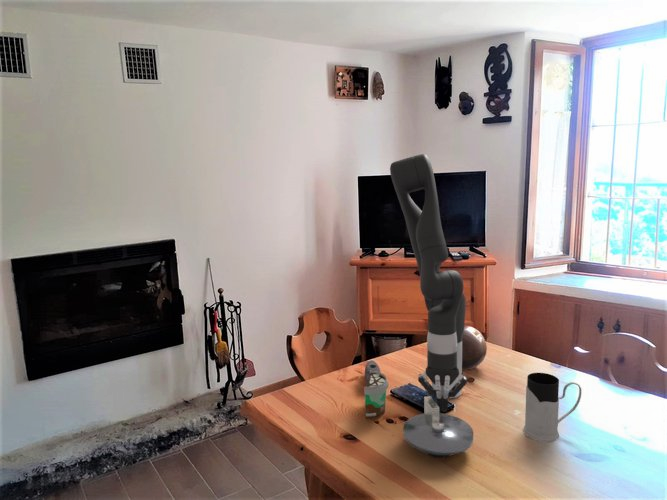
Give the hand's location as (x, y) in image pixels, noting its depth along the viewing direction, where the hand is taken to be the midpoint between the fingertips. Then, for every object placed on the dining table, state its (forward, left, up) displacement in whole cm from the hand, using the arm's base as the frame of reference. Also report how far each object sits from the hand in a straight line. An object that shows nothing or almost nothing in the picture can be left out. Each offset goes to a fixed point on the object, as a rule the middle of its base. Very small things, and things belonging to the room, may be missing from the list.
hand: (442, 410), depth 128 cm
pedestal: (+7, 0, -7) cm, 10 cm away
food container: (-6, -20, -7) cm, 22 cm away
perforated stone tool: (-24, -28, -7) cm, 37 cm away
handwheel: (+7, 0, -3) cm, 8 cm away
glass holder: (-11, +26, -7) cm, 29 cm away
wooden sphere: (-46, -2, -7) cm, 46 cm away
